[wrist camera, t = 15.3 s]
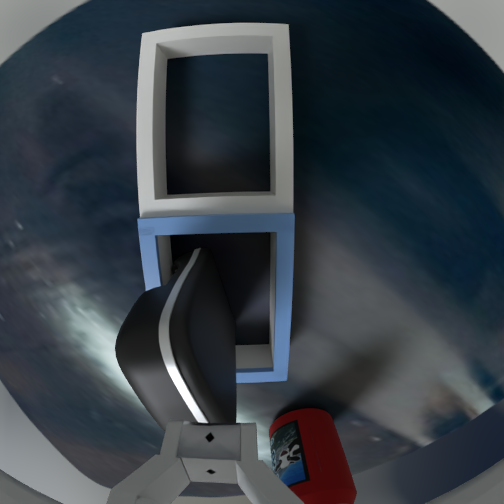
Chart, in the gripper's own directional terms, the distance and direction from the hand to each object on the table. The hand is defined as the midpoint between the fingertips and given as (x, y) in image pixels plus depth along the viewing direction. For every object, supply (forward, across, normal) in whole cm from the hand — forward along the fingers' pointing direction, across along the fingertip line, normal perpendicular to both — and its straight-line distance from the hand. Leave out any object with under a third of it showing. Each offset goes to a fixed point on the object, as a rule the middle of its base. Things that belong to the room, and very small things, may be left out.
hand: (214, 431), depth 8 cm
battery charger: (+13, +2, 0) cm, 13 cm away
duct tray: (+13, +1, -6) cm, 14 cm away
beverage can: (+13, -6, +16) cm, 22 cm away
